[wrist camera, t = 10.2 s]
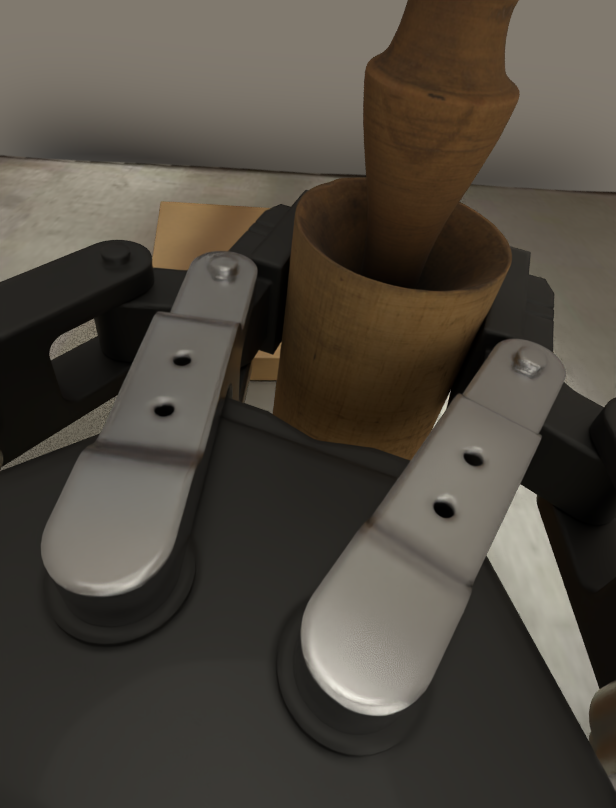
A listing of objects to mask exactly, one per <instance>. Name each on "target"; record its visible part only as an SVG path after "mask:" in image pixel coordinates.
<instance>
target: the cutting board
mask: <svg viewBox="0 0 616 808" xmlns="http://www.w3.org/2000/svg"><path fill="white" fill-rule="evenodd" d="M268 209H270V208H260V207H244V206H228V205H212V204H196V203H180V202H164V201H162V202H161V203H160V210H159V217H158V223H157V230H156V237H155V244H154V251H153V257H152V264H153V267H155V268H166V269H176V270H188V269H189V267H190V264H191V263H192V261H193V260H194V259H195V258H196V257H198V256H200V255H202V254H204V253H208V252H213V251H228V250H229V249H230V248H231V247H232V246H233V245H234V244H235V243H236V242H237V241H238V239H239V238H240V237H241V236H242V235H243V234H244V233H245V232H246V231H248V229H249V227H250V226H251V225H252V224H253V223H256V220H257V219H258V218H259V217H260V216H261V214H262V213H263V212H264V211H265V210H268ZM280 349H281V343H280V345H279V346H278V348H277V350H276V351H275V353H274V354H273V355H272V354H269V353H266V352H263V351H260V350H259V351H258V352H257V354H256V355H255V357H254V358H253V361H252V372H251V377H250V380H277V375H278V367H279V358H280Z"/></svg>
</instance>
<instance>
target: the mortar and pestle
mask: <svg viewBox="0 0 616 808" xmlns="http://www.w3.org/2000/svg"><path fill="white" fill-rule="evenodd" d="M517 2H518V0H408V2H407V5H406V8H405V11H404V14H403V17H402V19H401V22H400V25H399V27H398V29H397V31H396V33H395V36H394V38H393V40H392V42H391V44H390V45H389V47H388V48H387V49H386V50H385V51H384V52H383V53H381V54H379V55H377V56H375V57H373V58H372V59H371V60H370V61H369V62H368V64H367V66H366V70H365V79H364V103H363V107H364V108H363V127H364V149H365V166H366V178H363V177H358V178H340V179H336V180H334V181H331V182H328V183H324V184H321V185H318V186H316V187H314V188H312V189H310V190H309V191H307V192H306V193H305V194H304V195H303V196H302V197H301V199H300V200H299V202H298V204H297V207H296V212H295V219H294V229H293V238H292V247H291V257H290V267H289V277H288V287H287V297H286V306H285V315H284V324H283V333H282V341H281V349H280V358H279V367H278V375H277V383H276V391H275V399H274V407H273V415H275V416H276V417H278V418H280V419H281V420H283V421H285V422H286V423H288V424H290V425H291V426H293V427H295V428H296V429H298V430H299V431H301V432H303V433H304V434H306V435H308V436H309V437H311V438H313V439H316V440H320V441H326V442H334V443H341V444H349V445H356V446H364V447H371V448H376V449H379V450H381V451H384V452H387V453H390V454H393V455H396V456H399V457H402V458H405V459H408V460H410V461H411V460H412V458H413V457H414V455H415V454H416V452H417V451H418V449H419V448H420V447H421V445H422V444H423V442H424V441H425V439H426V438H427V437H428V435H429V434H430V432H431V430H432V428H433V426H434V424H435V422H436V420H437V418H438V416H439V414H440V411H441V409H442V407H443V405H444V403H445V401H446V399H447V397H448V395H449V393H450V390H451V388H452V386H453V384H454V382H455V380H456V378H457V376H458V374H459V372H460V370H461V368H462V365H463V363H464V361H465V359H466V357H467V355H468V353H469V351H470V349H471V347H472V345H473V343H474V341H475V338H476V336H477V334H478V332H479V330H480V328H481V326H482V324H483V322H484V320H485V318H486V315H487V313H488V312H489V310H490V308H491V306H492V304H493V302H494V300H495V298H496V295H497V293H498V291H499V289H500V287H501V285H502V283H503V281H504V279H505V277H506V275H507V272H508V270H509V268H510V265H511V262H512V252H511V248H510V246H509V243H508V241H507V240H506V238H505V237H504V236H503V234H502V233H501V232H500V231H499V230H498V228H497V227H496V226H495V225H494V224H493V223H491V222H490V221H489V220H488V219H486V218H485V217H483V216H482V215H481V214H479V213H478V212H476V211H475V210H473V209H471V208H470V207H468V206H466V205H465V204H463V203H461V202H459V201H460V200H461V198H462V197H463V195H464V194H465V192H466V191H467V189H468V188H469V186H470V185H471V183H472V181H473V180H474V178H475V177H476V175H477V173H478V172H479V171H480V169H481V167H482V166H483V164H484V163H485V161H486V159H487V158H488V156H489V154H490V153H491V151H492V150H493V148H494V146H495V145H496V143H497V141H498V140H499V138H500V136H501V134H502V132H503V130H504V128H505V126H506V125H507V123H508V121H509V119H510V117H511V115H512V112H513V111H514V108H515V106H516V104H517V102H518V99H519V90H518V88H517V86H516V85H515V84H514V83H513V82H512V81H511V80H510V79H509V78H508V76H507V75H506V72H505V44H506V36H507V31H508V26H509V22H510V18H511V15H512V12H513V10H514V8H515V6H516V4H517Z"/></svg>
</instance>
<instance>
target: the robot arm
mask: <svg viewBox="0 0 616 808" xmlns="http://www.w3.org/2000/svg"><path fill="white" fill-rule="evenodd" d="M307 191H309V190H305V191H304V192H303V193H302V195H301V196H300V197H299V198H298V199H297V200H296V202H295V203H294V204H293V205H292V206H291V207H290V206H286V205H283V204H280V205H277V206H275V207H273V208H270V209H268V210H265V211H264V212H263V213H262V214H261V216H260V217H259V218H258V219H257V220H256V223H253V224H252V225H251V226H250V227H249V229H248V231H246V232H245V233H244V234H243V235H242V236H241V237H240V238H239V239H238V241H237V242H236V243H235V244H234V245H233V246H232V247H231V248H230V249H229V250H228V251H213V252H208V253H204V254H202V255H200V256H198V257H196V258H195V259H194V260H193V261H192V263H191V264H190V267H189V269H188V270H176V269H166V268H155V267H153V264H152V256H151V253H150V251H149V250H148V249H147V248H146V247H144V246H142V245H141V244H138V243H135V242H132V241H126V240H109V241H103V242H99V243H96V244H94V245H91V246H89V247H86V248H84V249H81V250H79V251H76V252H74V253H71V254H69V255H66V256H64V257H61V258H59V259H56V260H54V261H51V262H49V263H47V264H44V265H42V266H39V267H37V268H34V269H32V270H29V271H27V272H24V273H22V274H19V275H17V276H14V277H12V278H9V279H7V280H4V281H2V282H0V469H1V467H2V466H4V465H6V464H7V463H9V462H10V461H12V460H14V459H15V458H17V457H18V456H20V455H22V454H23V453H25V452H26V451H28V450H30V449H31V448H33V447H34V446H36V445H38V444H39V443H41V442H43V441H44V440H46V439H47V438H49V437H51V436H52V435H54V434H55V433H57V432H59V431H60V430H62V429H63V428H65V427H67V426H68V425H70V424H71V423H73V422H75V421H76V420H78V419H80V418H81V417H83V416H84V415H86V414H88V413H89V412H91V411H92V410H94V409H96V408H97V407H99V406H100V405H102V404H104V403H105V402H107V401H108V400H110V399H112V398H113V397H115V396H116V395H118V396H117V398H116V400H115V402H114V404H113V407H112V409H111V411H110V413H109V415H108V418H107V420H106V422H105V424H104V426H103V429H102V431H101V433H100V434H97V435H95V436H92V437H89V438H87V439H84V440H82V441H79V442H76V443H74V444H71V445H68V446H66V447H63V448H60V449H58V450H55V451H52V452H50V453H47V454H44V455H42V456H39V457H36V458H34V459H31V460H29V461H26V462H23V463H21V464H18V465H15V466H13V467H10V468H7V469H5V470H2V471H0V808H616V398H613V399H612V400H610V401H609V402H608V403H607V405H606V406H605V407H602V406H600V405H599V404H597V403H595V402H593V401H591V400H589V399H588V398H586V397H584V396H582V395H580V394H579V393H577V392H576V391H574V390H573V389H571V388H570V387H569V386H568V385H567V384H566V383H565V382H564V380H565V377H566V370H565V367H564V365H563V363H562V362H561V360H560V359H559V358H558V357H557V356H556V355H555V354H554V353H553V328H554V321H553V318H554V310H553V308H554V292H553V291H552V289H551V288H550V286H549V284H548V283H547V281H546V279H543V278H540V277H536V276H533V275H529V266H530V254H531V253H530V252H529V251H525V250H522V249H518V248H514V247H511V246H510V248H511V252H512V262H511V265H510V268H509V270H508V272H507V275H506V277H505V279H504V281H503V283H502V285H501V287H500V289H499V291H498V293H497V295H496V298H495V300H494V302H493V304H492V306H491V308H490V310H489V312H488V313H487V315H486V318H485V320H484V322H483V324H482V326H481V328H480V330H479V332H478V334H477V336H476V338H475V341H474V343H473V345H472V347H471V349H470V351H469V353H468V355H467V357H466V359H465V361H464V363H463V365H462V368H461V370H460V372H459V374H458V376H457V378H456V380H455V382H454V384H453V386H452V388H451V392H450V396H449V400H448V405H447V409H446V411H445V412H444V414H443V415H442V417H441V418H440V419H439V421H438V422H437V424H436V425H435V427H434V428H433V429H432V431H431V432H430V434H429V435H428V437H427V438H426V439H425V441H424V442H423V444H422V445H421V447H420V448H419V449H418V451H417V452H416V454H415V455H414V457H413V458H412V460H411V461H410V460H408V459H405V458H402V457H399V456H396V455H393V454H390V453H387V452H384V451H381V450H379V449H376V448H371V447H364V446H356V445H349V444H341V443H334V442H326V441H320V440H316V439H313V438H311V437H309V436H308V435H306V434H304V433H303V432H301V431H299V430H298V429H296V428H295V427H293V426H291V425H290V424H288V423H286V422H285V421H283V420H281V419H280V418H278V417H276V416H275V415H273V414H271V413H270V412H268V411H265V410H263V409H260V408H257V407H254V406H251V405H248V404H245V399H246V395H247V390H248V386H249V381H250V377H251V372H252V361H253V358H254V357H255V355H256V354H257V352H258V351H259V350H260V351H263V352H266V353H269V354H272V355H273V354H274V353H275V351H276V350H277V348H278V346H279V345H280V343H281V341H282V333H283V324H284V315H285V306H286V297H287V287H288V277H289V267H290V257H291V247H292V238H293V229H294V219H295V212H296V207H297V204H298V202H299V200H300V199H301V197H302V196H303V195H304V194H305V193H306V192H307ZM92 319H94V320H95V325H96V329H97V333H98V336H97V337H95V338H93V339H91V340H89V341H87V342H85V343H83V344H81V345H80V346H78V347H76V348H74V349H72V350H70V351H68V352H66V353H64V354H63V355H61V356H59V357H57V358H55V359H53V360H50V356H49V352H50V348H51V345H52V344H53V342H54V341H55V340H56V339H57V338H58V337H59V336H60V335H62V334H64V333H66V332H68V331H70V330H72V329H74V328H76V327H78V326H80V325H82V324H84V323H86V322H88V321H90V320H92ZM520 484H521V485H523V486H524V487H526V488H527V489H529V490H531V491H532V492H534V493H535V494H537V505H538V509H539V512H540V515H541V518H542V521H543V524H544V527H545V530H546V533H547V535H548V538H549V541H550V544H551V547H552V550H553V553H554V556H555V559H556V562H557V565H558V568H559V571H560V574H561V577H562V580H563V583H564V586H565V589H566V591H567V594H568V597H569V600H570V603H571V606H572V609H573V612H574V615H575V618H576V621H577V624H578V627H579V630H580V633H581V636H582V639H583V642H584V645H585V647H586V650H587V653H588V656H589V659H590V662H591V665H592V668H593V671H594V674H595V677H596V680H597V683H598V686H599V690H598V691H597V692H596V693H595V695H594V697H593V698H592V701H591V704H590V709H589V723H590V728H591V732H590V735H589V741H588V739H587V737H586V735H585V733H584V732H583V730H582V728H581V726H580V724H579V723H578V721H577V719H576V717H575V715H574V714H573V712H572V710H571V708H570V706H569V705H568V703H567V701H566V699H565V697H564V695H563V694H562V692H561V690H560V688H559V686H558V685H557V683H556V681H555V679H554V677H553V676H552V674H551V672H550V670H549V668H548V666H547V665H546V663H545V661H544V659H543V657H542V656H541V654H540V652H539V650H538V648H537V646H536V645H535V643H534V641H533V639H532V637H531V636H530V634H529V632H528V630H527V628H526V626H525V625H524V623H523V621H522V619H521V617H520V616H519V614H518V612H517V610H516V608H515V606H514V605H513V603H512V601H511V599H510V597H509V596H508V594H507V592H506V590H505V588H504V587H503V585H502V583H501V581H500V579H499V577H498V576H497V574H496V572H495V570H494V568H493V567H492V565H491V563H490V561H489V559H488V557H487V556H486V555H487V553H488V551H489V549H490V546H491V544H492V542H493V540H494V538H495V536H496V534H497V532H498V530H499V527H500V525H501V523H502V521H503V519H504V517H505V515H506V513H507V510H508V508H509V506H510V504H511V502H512V500H513V498H514V496H515V494H516V491H517V489H518V487H519V485H520Z"/></svg>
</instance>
